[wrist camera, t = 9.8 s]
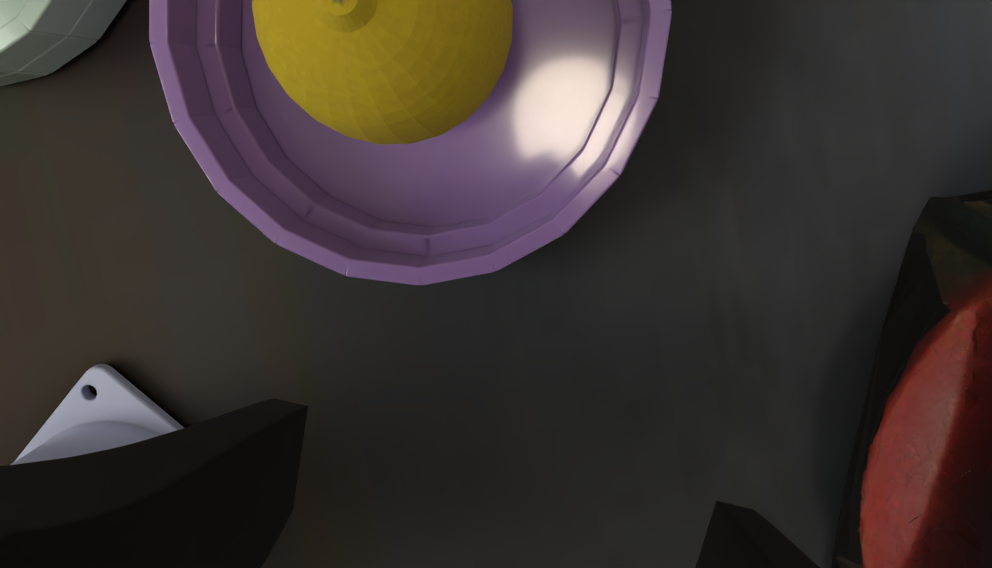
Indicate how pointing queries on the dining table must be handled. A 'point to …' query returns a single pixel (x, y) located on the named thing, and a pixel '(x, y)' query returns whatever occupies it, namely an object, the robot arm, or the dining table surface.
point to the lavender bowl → (425, 164)
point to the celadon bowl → (48, 34)
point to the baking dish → (929, 406)
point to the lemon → (386, 61)
